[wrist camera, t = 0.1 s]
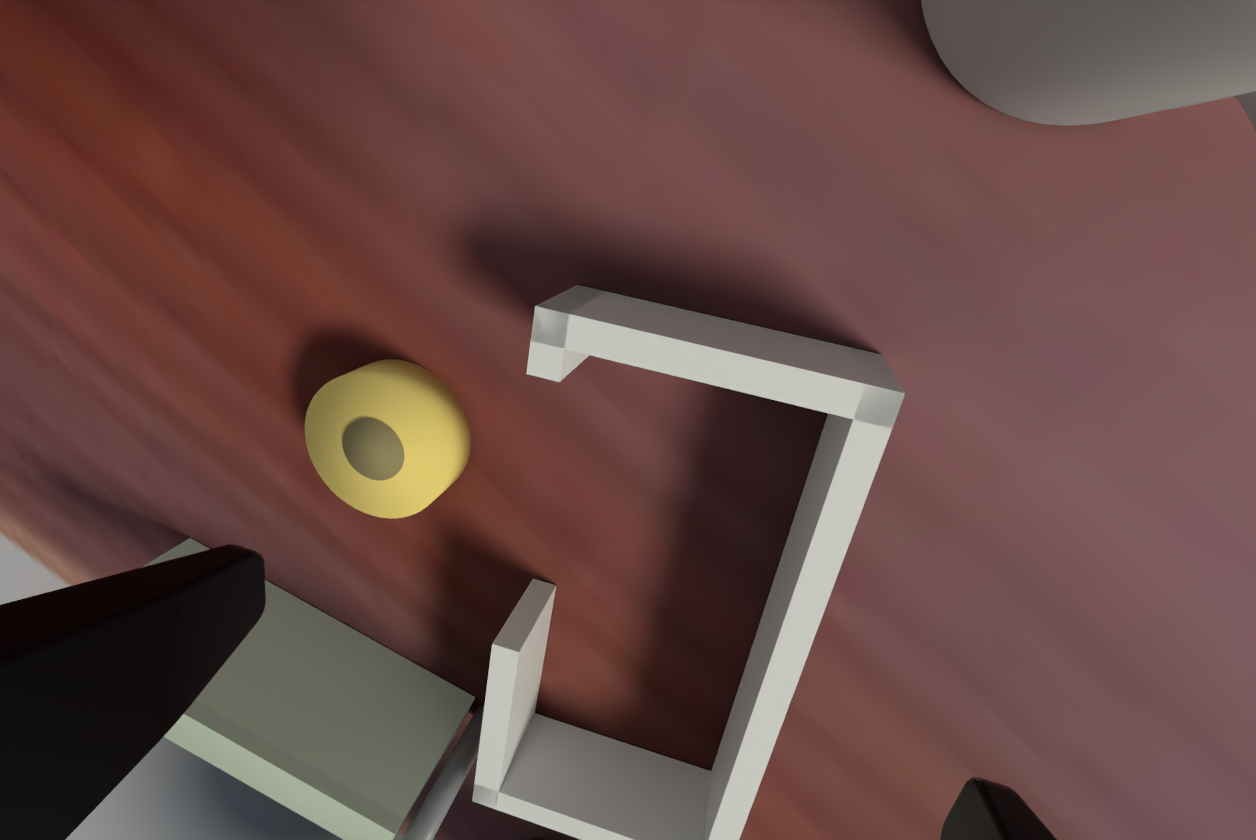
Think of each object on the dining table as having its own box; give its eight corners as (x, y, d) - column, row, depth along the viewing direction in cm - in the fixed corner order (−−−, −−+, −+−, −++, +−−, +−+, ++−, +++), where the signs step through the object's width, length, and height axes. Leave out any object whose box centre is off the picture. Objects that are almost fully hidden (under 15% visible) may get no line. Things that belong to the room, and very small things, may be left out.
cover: (475, 697, 29) (394, 834, 23) (462, 722, 29) (381, 861, 23) (190, 537, 29) (36, 630, 23) (184, 566, 30) (34, 662, 24)
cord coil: (464, 510, 25) (439, 536, 24) (338, 473, 26) (303, 497, 24) (477, 379, 23) (450, 396, 21) (339, 343, 24) (301, 357, 22)
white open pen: (725, 803, 28) (710, 972, 22) (475, 719, 29) (397, 855, 23) (882, 354, 20) (925, 427, 14) (529, 273, 21) (433, 308, 16)
